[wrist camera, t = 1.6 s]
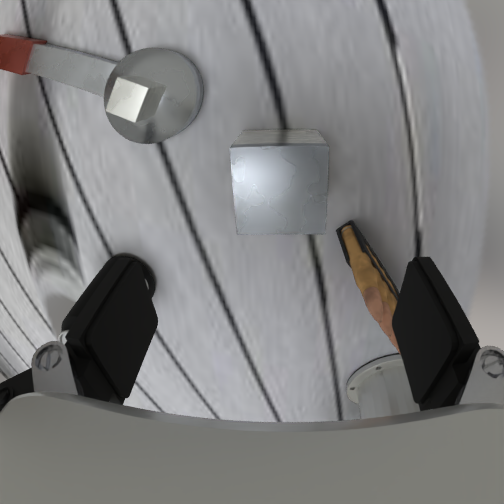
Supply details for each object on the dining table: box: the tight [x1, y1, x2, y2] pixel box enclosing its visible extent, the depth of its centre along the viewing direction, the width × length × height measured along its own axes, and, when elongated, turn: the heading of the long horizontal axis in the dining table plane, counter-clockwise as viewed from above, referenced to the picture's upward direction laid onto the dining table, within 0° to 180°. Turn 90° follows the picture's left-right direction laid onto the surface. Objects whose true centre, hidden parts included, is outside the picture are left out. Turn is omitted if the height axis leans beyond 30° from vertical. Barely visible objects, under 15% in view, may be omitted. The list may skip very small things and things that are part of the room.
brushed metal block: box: [230, 129, 329, 235], centre depth 22 cm, size 6×6×7 cm
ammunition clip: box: [336, 221, 401, 355], centre depth 24 cm, size 11×2×12 cm, turn 41°
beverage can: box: [58, 256, 155, 345], centre depth 28 cm, size 7×7×12 cm
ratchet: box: [0, 34, 203, 144], centre depth 18 cm, size 27×8×6 cm, turn 63°
